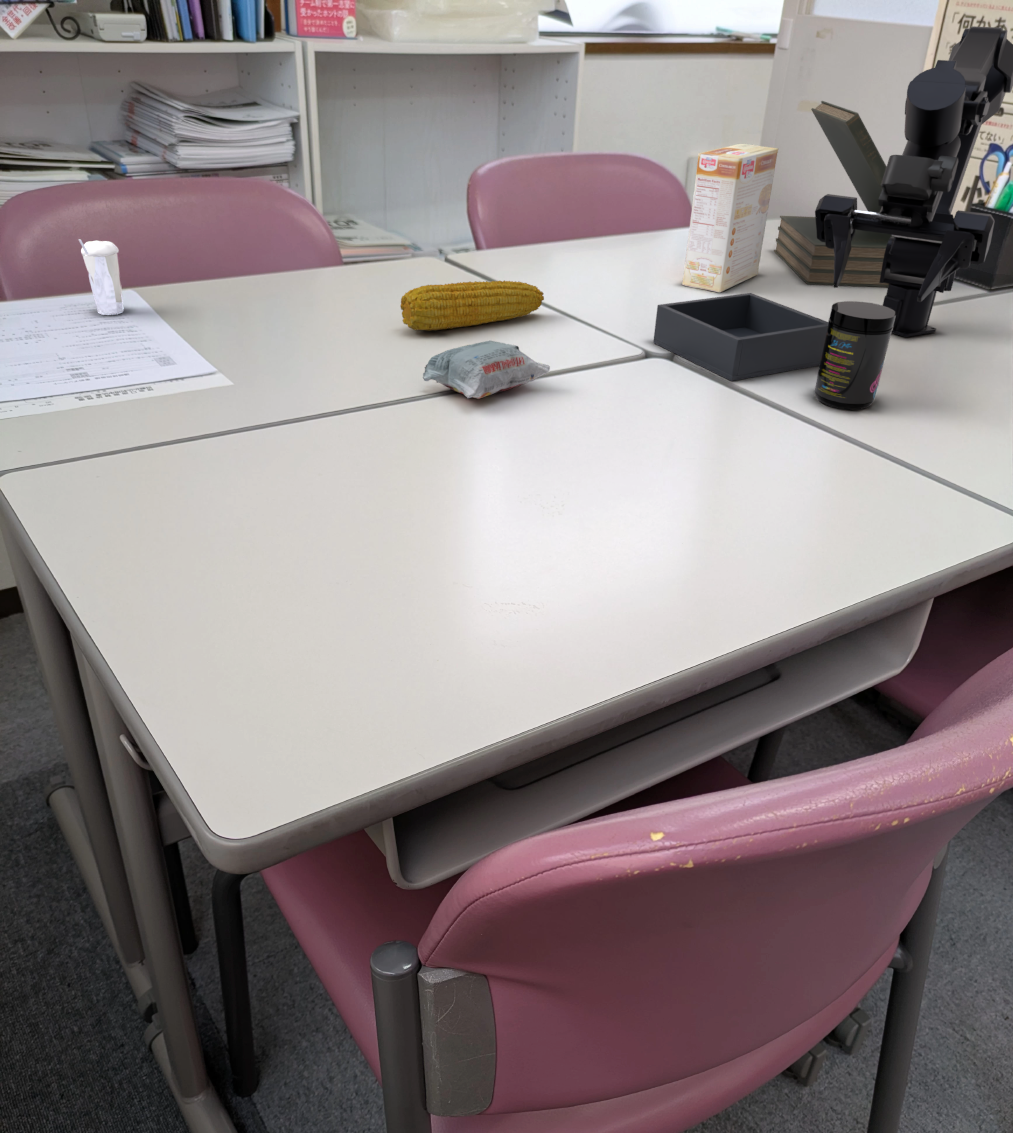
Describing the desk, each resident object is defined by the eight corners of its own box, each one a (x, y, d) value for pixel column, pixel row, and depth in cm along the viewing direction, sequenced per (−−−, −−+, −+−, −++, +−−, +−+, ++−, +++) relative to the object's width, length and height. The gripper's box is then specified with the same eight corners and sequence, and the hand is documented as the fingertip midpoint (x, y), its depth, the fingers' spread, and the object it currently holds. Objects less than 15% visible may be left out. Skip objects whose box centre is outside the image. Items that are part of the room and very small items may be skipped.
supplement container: (867, 416, 104) (890, 322, 98) (806, 403, 106) (825, 311, 101) (878, 397, 109) (901, 307, 103) (819, 386, 111) (838, 297, 106)
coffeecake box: (719, 267, 160) (738, 142, 149) (759, 275, 156) (781, 147, 146) (679, 285, 149) (696, 151, 139) (721, 293, 146) (741, 156, 135)
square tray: (744, 328, 130) (750, 292, 127) (827, 364, 118) (835, 324, 116) (652, 342, 123) (657, 304, 121) (731, 381, 112) (738, 340, 109)
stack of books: (927, 288, 152) (971, 118, 139) (806, 284, 152) (839, 113, 139) (880, 255, 172) (916, 103, 159) (773, 251, 172) (800, 98, 159)
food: (416, 340, 121) (415, 293, 118) (396, 328, 125) (394, 283, 122) (550, 318, 131) (552, 275, 128) (527, 308, 135) (529, 266, 132)
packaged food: (548, 389, 107) (550, 347, 105) (468, 414, 100) (468, 369, 98) (498, 369, 113) (498, 329, 110) (418, 391, 106) (417, 348, 103)
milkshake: (80, 315, 125) (65, 237, 120) (109, 305, 129) (95, 229, 124) (108, 320, 123) (93, 241, 118) (136, 309, 128) (123, 233, 123)
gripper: (837, 116, 105) (789, 235, 102) (1020, 133, 97) (972, 262, 94) (840, 183, 115) (796, 293, 112) (1006, 203, 107) (962, 322, 104)
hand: (876, 292), depth 105 cm, fingers open, 9 cm apart
